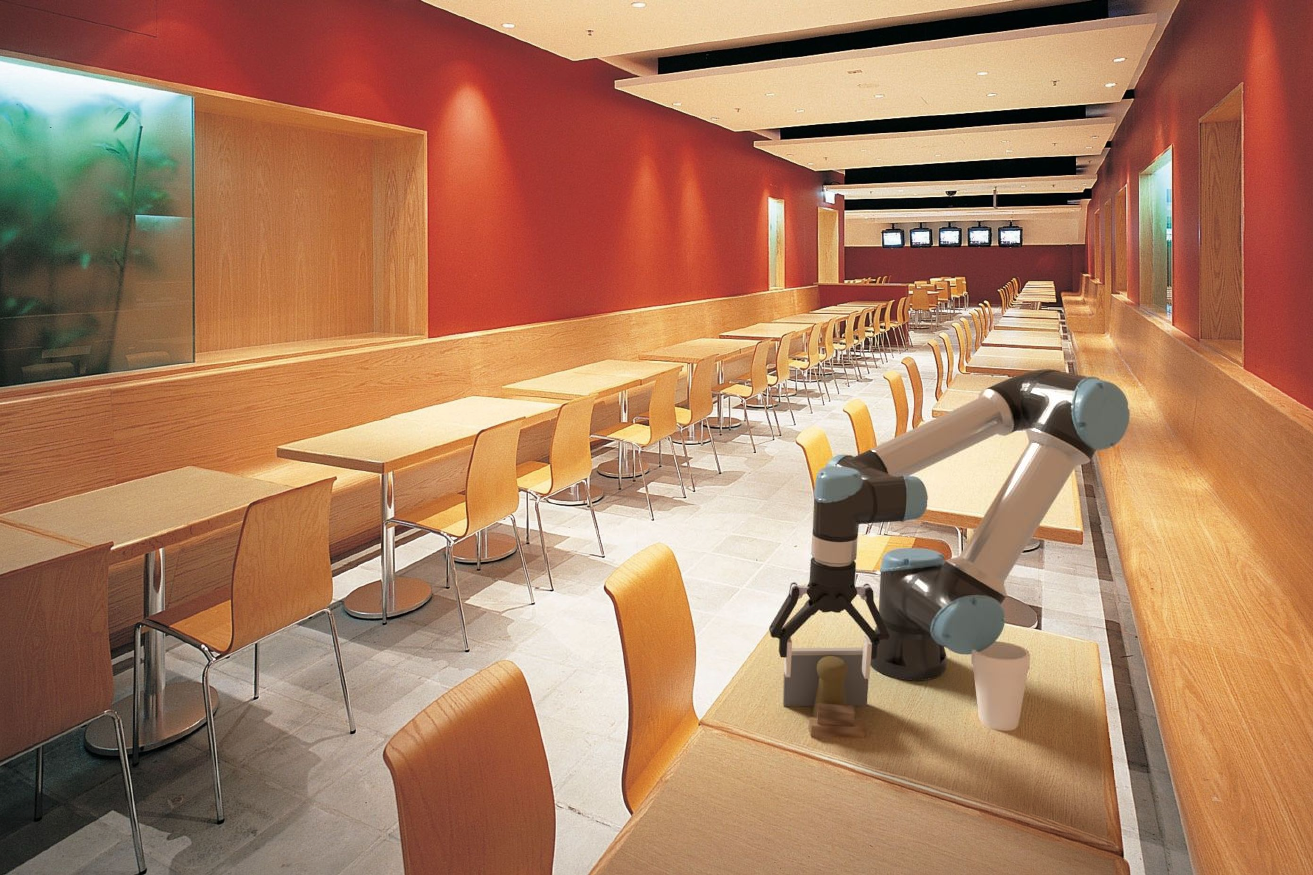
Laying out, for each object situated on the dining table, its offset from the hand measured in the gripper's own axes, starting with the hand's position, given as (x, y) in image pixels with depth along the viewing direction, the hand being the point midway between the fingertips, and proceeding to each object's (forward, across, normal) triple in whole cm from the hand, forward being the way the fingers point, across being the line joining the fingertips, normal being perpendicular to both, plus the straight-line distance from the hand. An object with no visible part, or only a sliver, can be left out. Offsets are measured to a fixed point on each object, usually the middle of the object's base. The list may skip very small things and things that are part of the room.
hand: (826, 674), depth 150 cm
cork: (+8, -1, 0) cm, 8 cm away
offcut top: (+6, -1, +5) cm, 8 cm away
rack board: (+8, -1, -4) cm, 9 cm away
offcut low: (+8, -1, +5) cm, 10 cm away
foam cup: (+8, -30, +1) cm, 31 cm away
